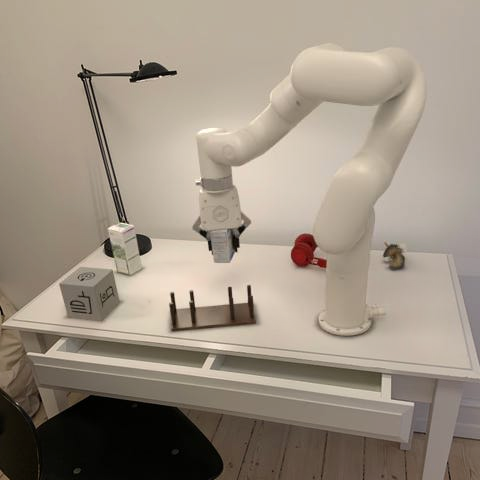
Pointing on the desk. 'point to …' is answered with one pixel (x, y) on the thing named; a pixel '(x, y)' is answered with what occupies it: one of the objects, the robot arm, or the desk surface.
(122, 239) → the syrup box
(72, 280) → the icon cube
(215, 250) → the medicine box
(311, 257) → the headphones
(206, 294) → the desk surface
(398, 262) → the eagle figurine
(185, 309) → the plate rack
